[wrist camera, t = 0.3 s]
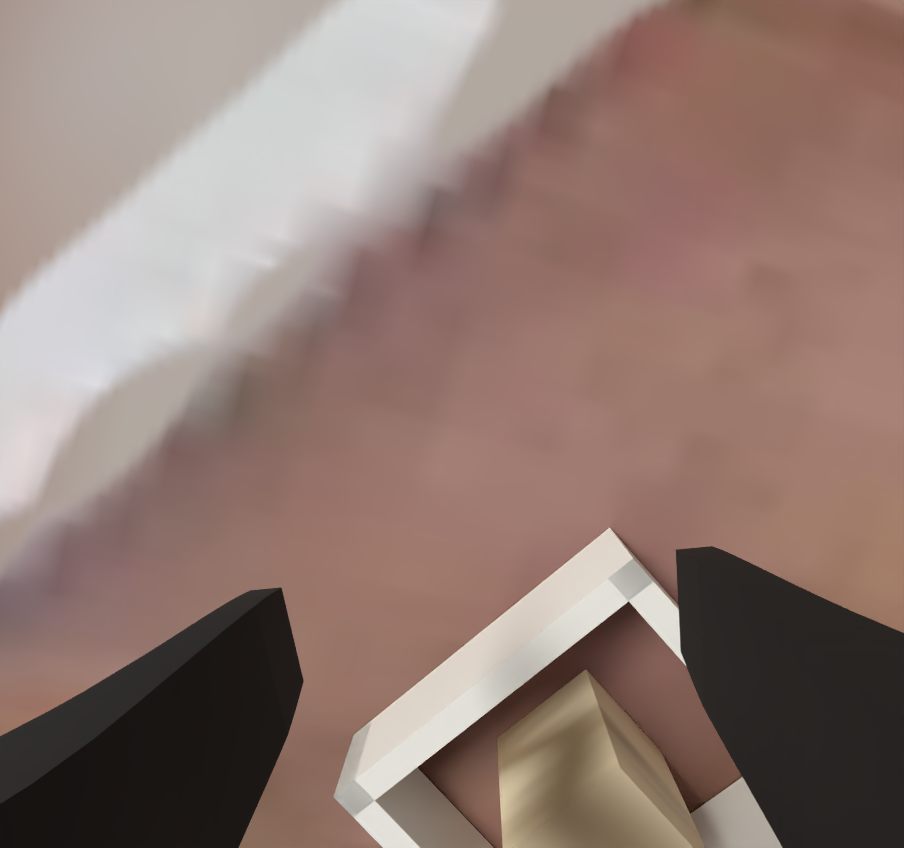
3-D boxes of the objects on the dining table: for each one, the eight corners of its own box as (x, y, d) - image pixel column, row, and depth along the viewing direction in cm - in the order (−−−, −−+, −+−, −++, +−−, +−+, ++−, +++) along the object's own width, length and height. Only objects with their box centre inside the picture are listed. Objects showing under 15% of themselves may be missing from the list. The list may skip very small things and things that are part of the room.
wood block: (571, 816, 21) (599, 955, 16) (496, 737, 21) (503, 854, 16) (660, 750, 21) (718, 874, 16) (585, 668, 21) (619, 767, 16)
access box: (551, 940, 22) (562, 1032, 19) (353, 734, 21) (333, 796, 18) (812, 757, 20) (869, 825, 17) (609, 527, 20) (633, 558, 17)
